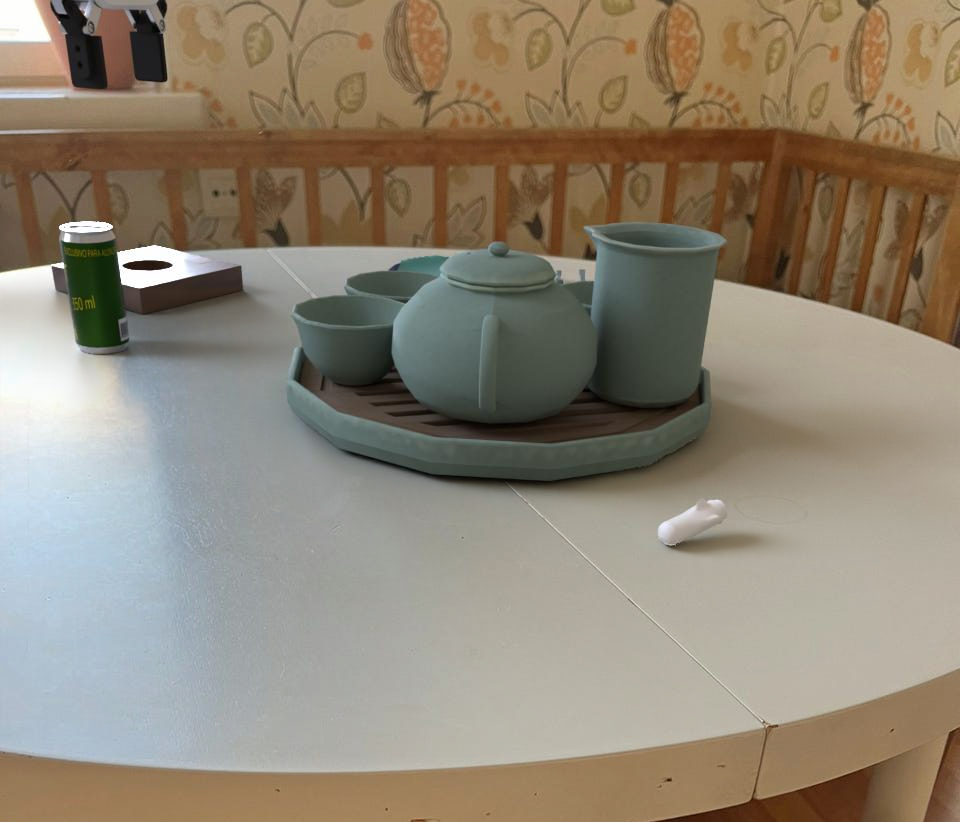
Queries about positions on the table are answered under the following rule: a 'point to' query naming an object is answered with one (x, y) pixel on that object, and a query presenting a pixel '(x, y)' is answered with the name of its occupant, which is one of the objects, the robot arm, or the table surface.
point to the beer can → (94, 287)
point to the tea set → (516, 359)
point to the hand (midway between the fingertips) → (122, 84)
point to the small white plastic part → (692, 521)
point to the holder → (167, 278)
